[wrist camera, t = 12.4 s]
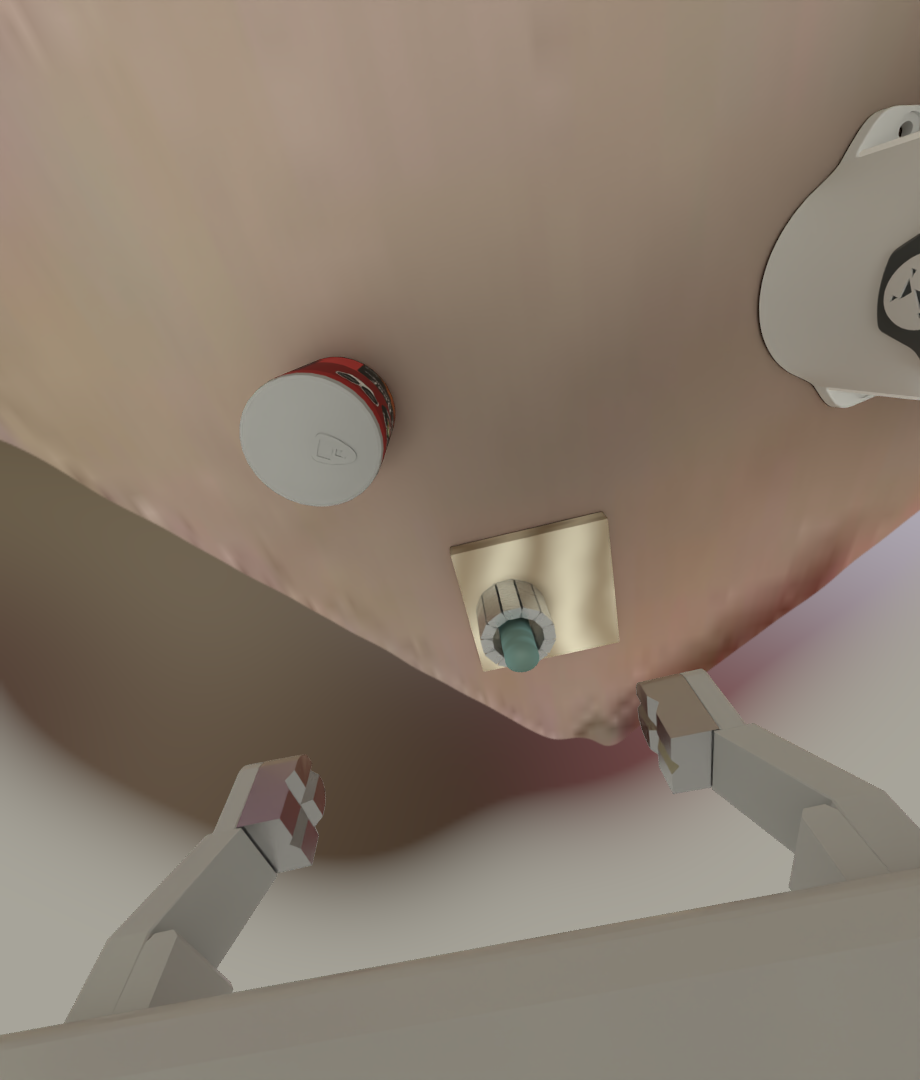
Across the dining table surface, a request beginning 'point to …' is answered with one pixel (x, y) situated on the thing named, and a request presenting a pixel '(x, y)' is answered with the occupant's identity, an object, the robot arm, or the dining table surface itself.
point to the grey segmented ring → (513, 616)
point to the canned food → (319, 431)
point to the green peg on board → (545, 586)
